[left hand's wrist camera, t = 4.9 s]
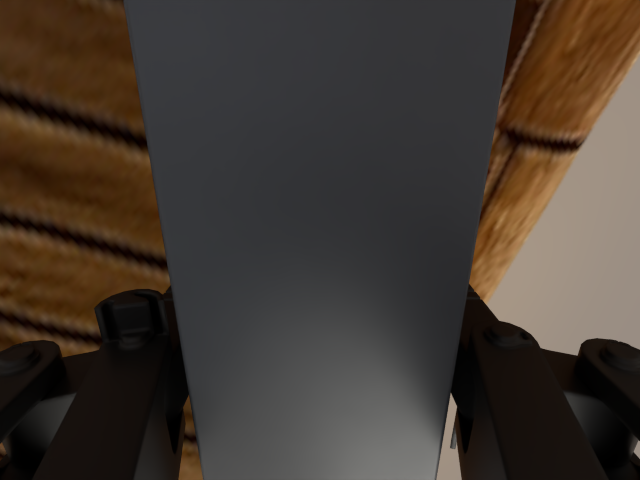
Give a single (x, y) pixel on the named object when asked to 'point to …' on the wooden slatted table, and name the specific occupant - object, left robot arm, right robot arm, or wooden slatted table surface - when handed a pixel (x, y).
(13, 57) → the wooden slatted table surface
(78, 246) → the wooden slatted table surface
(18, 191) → the wooden slatted table surface
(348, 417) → the bar
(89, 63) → the wooden slatted table surface
